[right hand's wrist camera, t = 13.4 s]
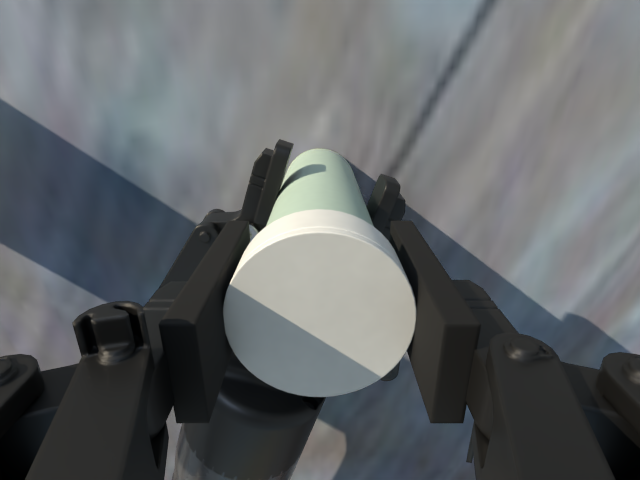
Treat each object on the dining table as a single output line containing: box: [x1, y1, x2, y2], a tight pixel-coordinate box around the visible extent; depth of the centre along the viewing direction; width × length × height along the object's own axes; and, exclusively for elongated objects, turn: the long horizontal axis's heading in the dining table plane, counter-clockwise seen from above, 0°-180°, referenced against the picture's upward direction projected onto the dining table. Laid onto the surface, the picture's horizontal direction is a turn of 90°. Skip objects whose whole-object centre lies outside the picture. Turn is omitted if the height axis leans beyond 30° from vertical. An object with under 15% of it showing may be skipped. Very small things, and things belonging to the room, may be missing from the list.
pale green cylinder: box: [266, 149, 374, 227], centre depth 18 cm, size 4×4×15 cm
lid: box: [223, 209, 417, 397], centre depth 11 cm, size 5×5×2 cm
